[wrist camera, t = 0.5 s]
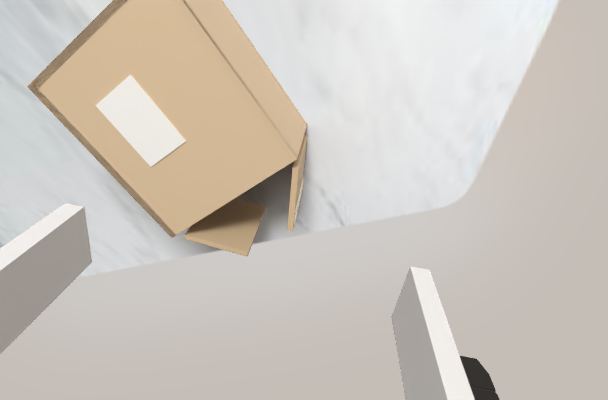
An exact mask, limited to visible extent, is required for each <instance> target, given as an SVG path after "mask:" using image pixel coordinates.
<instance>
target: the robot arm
mask: <svg viewBox="0 0 608 400" xmlns="http://www.w3.org/2000/svg"><path fill="white" fill-rule="evenodd" d="M91 262H92V258H91V251H90V244H89V237H88V230H87V223H86V216H85V209H84V207H82V206H77V205H72V204H66V203H65V204H64V205H62V206H61V207H59V208H58V209H56V210H55V211H53V212H52V213H51V214H49V215H48V216H46V217H45V218H43V219H42V220H40V221H39V222H38V223H36V224H35V225H33V226H32V227H30V228H29V229H28V230H26V231H25V232H23V233H22V234H20V235H19V236H17V237H16V238H15V239H13V240H12V241H10V242H9V243H7V244H6V245H5V246H3V247H2V248H0V354H1V353H2V352H3V351H4V350H5V349H6V348H7V347H8V346H9V345H10V344H11V343H12V342H13V341H14V340H15V339H16V338H17V337H18V336H19V335H20V334H21V333H22V332H23V331H24V330H25V329H26V328H27V327H28V326H29V325H30V324H31V323H32V322H33V321H34V320H35V319H36V318H37V317H38V316H39V315H40V314H41V313H42V312H43V310H45V309H46V308H47V307H48V306H49V305H50V304H51V303H52V302H53V301H54V300H55V299H56V298H57V297H58V296H59V295H60V294H61V293H62V292H63V291H64V290H65V289H66V288H67V287H68V286H69V285H70V283H72V282H73V281H74V280H75V279H76V278H77V277H78V276H79V275H80V274H81V272H82V271H83V270H84V269H85V268H86V267H87V266H88V265H89V264H90V263H91ZM392 323H393V329H394V334H395V340H396V346H397V352H398V357H399V364H400V369H401V375H402V381H403V387H404V393H405V398H406V400H499V398H498V395H497V394H496V393H495V388H494V385H493V383H492V381H491V378H490V376H489V374H488V372H487V371H486V370H485V369H484V368H483V366H482V365H481V364H480V362H479V361H478V360H477V359H474V358H469V357H463V356H459V353H458V351H457V348H456V345H455V342H454V339H453V336H452V333H451V330H450V328H449V325H448V322H447V319H446V316H445V313H444V310H443V308H442V305H441V302H440V299H439V296H438V293H437V291H436V288H435V285H434V282H433V279H432V276H431V273H430V270H426V269H421V268H415V267H410V269H409V271H408V274H407V277H406V280H405V282H404V285H403V288H402V290H401V293H400V296H399V299H398V301H397V304H396V306H395V309H394V312H393V314H392Z"/></svg>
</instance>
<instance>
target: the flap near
mask: <svg viewBox="0 0 608 400" xmlns="http://www.w3.org/2000/svg"><path fill="white" fill-rule="evenodd" d="M306 145H307V136H306V135H304V138H303V141H302V144H301V148H300V151H299V155H298V158H297V160H295V161H294V165H293V168H292V179H291V191H290V203H289V215H288V227H287V231H293V228H294V225H295V223H296V218H297V213H298V208H299V204H300V199H301V194H302V190H303V181H304V178H303V175H304V165H305V155H306Z"/></svg>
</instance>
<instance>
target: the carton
mask: <svg viewBox="0 0 608 400" xmlns="http://www.w3.org/2000/svg"><path fill="white" fill-rule="evenodd" d="M28 88H29V89H30V90H31V91H32V92H33V93H34V94H35V95H36V96H37V97H38V98H39V99H40V100H41V102H42V103H43V104H44V105H45V106H46V107H47V108H48V109H49V110H50V111H51V112H52V113H53V114H54V115H55V116H56V117H57V118H58V119H59V120H60V121H61V122H62V124H63V125H64V126H65V127H66V128H67V129H68V130H69V131H70V132H71V133H72V134H73V135H74V136H75V137H76V138H77V139H78V140H79V141H80V142H81V143H82V144H83V145H84V147H85V148H86V149H87V150H88V151H89V152H90V153H91V154H92V155H93V156H94V157H95V158H96V159H97V160H98V161H99V162H100V163H101V164H102V165H103V166H104V167H105V169H106V170H107V171H108V172H109V173H110V174H111V175H112V176H113V177H114V178H115V179H116V180H117V181H118V182H119V183H120V184H121V185H122V186H123V187H124V188H125V189H126V190H127V192H128V193H129V194H130V195H131V196H132V197H133V198H134V199H135V200H136V201H137V202H138V203H139V204H140V205H141V206H142V207H143V208H144V209H145V210H146V211H147V212H148V213H149V215H150V216H151V217H152V218H153V219H154V220H155V221H156V222H157V223H158V224H159V225H160V226H161V227H162V228H163V229H164V230H165V231H166V232H167V233H168V234H169V235H170V237H171V238H172V237H174V236H176V235H177V234H179V233H180V232H182V231H183V230H185V229H187V228H188V227H190V226H191V225H193V224H195V223H196V222H198V221H199V220H201V219H203V218H204V217H206V216H207V215H209V214H211V213H212V212H214V211H215V210H217V209H219V208H220V207H222V206H223V205H225V204H227V203H228V202H230V201H231V200H233V199H234V198H236V197H238V196H239V195H241V194H242V193H244V192H246V191H247V190H249V189H250V188H252V187H254V186H255V185H257V184H258V183H260V182H262V181H263V180H265V179H266V178H268V177H270V176H271V175H273V174H274V173H276V172H278V171H279V170H281V169H282V168H284V167H286V166H287V165H289V164H290V163H292V162H293V161H295V160H297V158H298V155H299V151H300V148H301V144H302V141H303V138H304V134H305V131H306V127H307V123H306V122H305V120H304V119H303V118H302V116H301V115H300V113H299V112H298V110H297V109H296V107H295V106H294V104H293V103H292V101H291V100H290V99H289V97H288V96H287V94H286V93H285V91H284V90H283V88H282V87H281V85H280V84H279V82H278V81H277V80H276V78H275V77H274V75H273V74H272V72H271V71H270V69H269V68H268V66H267V65H266V64H265V62H264V61H263V59H262V58H261V56H260V55H259V53H258V52H257V50H256V49H255V47H254V46H253V45H252V43H251V42H250V40H249V39H248V37H247V36H246V34H245V33H244V31H243V30H242V29H241V27H240V26H239V24H238V23H237V21H236V20H235V18H234V17H233V15H232V14H231V12H230V11H229V10H228V8H227V7H226V5H225V4H224V2H223V1H222V0H113V1H112V2H111V3H110V4H109V5H108V6H107V7H106V8H105V9H104V10H103V11H102V12H101V13H100V14H99V15H98V16H97V17H96V18H95V19H94V20H93V21H92V22H91V23H90V24H89V25H88V26H87V27H86V28H85V29H84V30H83V31H82V32H81V33H80V34H79V35H78V36H77V37H76V38H75V39H74V40H73V41H72V42H71V43H70V44H69V45H68V46H67V47H66V48H65V49H64V50H63V51H62V52H61V53H60V54H59V55H58V56H57V57H56V58H55V59H54V60H53V61H52V62H51V63H50V64H49V65H48V66H47V67H46V68H45V69H44V70H43V71H42V72H41V73H40V75H39V76H38V77H37V78H36V79H35V80H34V81H33V82H32V83H31V84H30V85H29V86H28Z"/></svg>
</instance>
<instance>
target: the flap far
mask: <svg viewBox="0 0 608 400" xmlns="http://www.w3.org/2000/svg"><path fill="white" fill-rule="evenodd" d="M265 208H266V206H263V205H259V204H256V203H252V202H249V201H245V200H242V199H238V198H234V199H233V200H231V201H230V202H228V203H227V204H225V205H223V206H222V207H220V208H219V209H217V210H215V211H214V212H212V213H211V214H209V215H207V216H206V217H204V218H203V219H201V220H199V221H198V222H196V223H195V224H193V225H192V226H191V227H190V228H189V230H188V231H187V233H186V234H185V239H186V240H190V241H193V242H197V243H201V244H204V245H208V246H211V247H215V248H219V249H222V250H226V251H230V252H234V253H237V254H240V255H244V256H248V253H249V251H250V248H251V246H252V243H253V240H254V238H255V235H256V232H257V230H258V227H259V225H260V222H261V219H262V217H263V214H264V212H265Z"/></svg>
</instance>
